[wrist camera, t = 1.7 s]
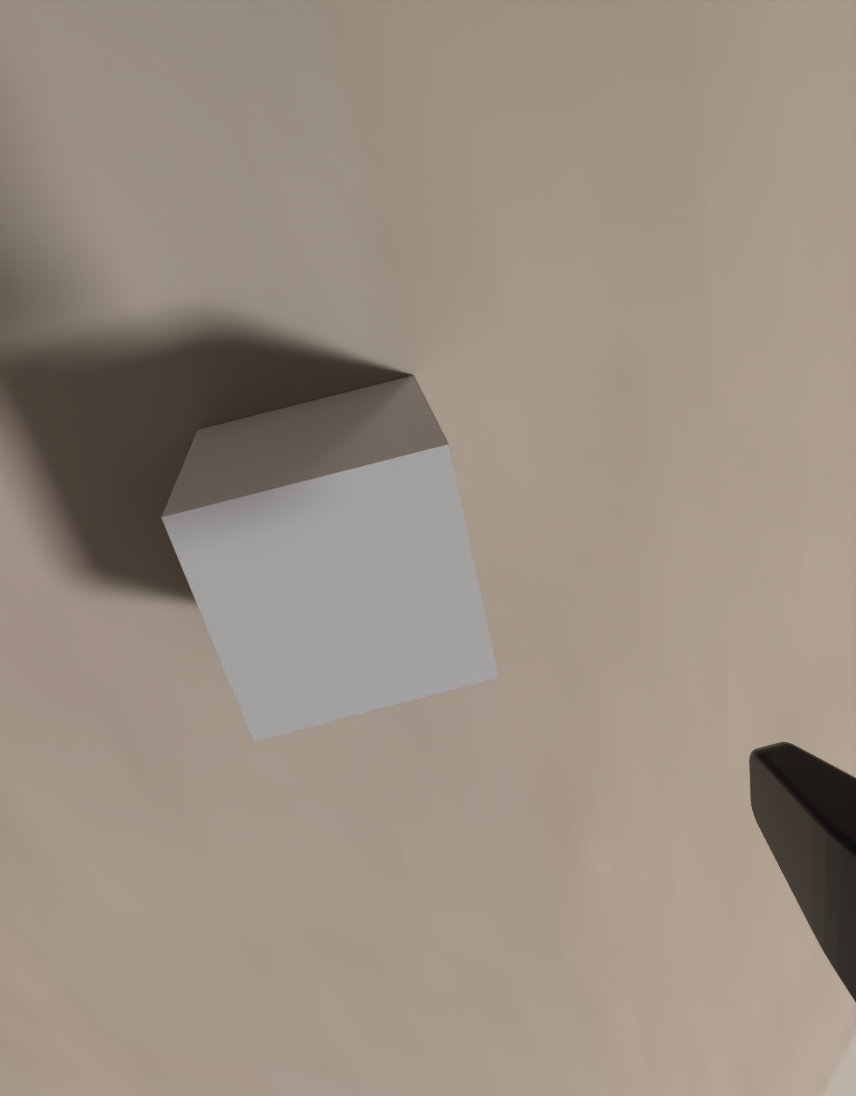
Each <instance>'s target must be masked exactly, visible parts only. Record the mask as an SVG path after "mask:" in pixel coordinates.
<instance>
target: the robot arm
mask: <svg viewBox="0 0 856 1096" xmlns="http://www.w3.org/2000/svg"><path fill="white" fill-rule="evenodd" d="M749 766H750V794H751V806H752V810H753V814H754V817H755V819H756V822H757V824H758V826H759V828H760V830H761V832H762V834H763V836H764V838H765V839H766V841H767V843H768V845H769V847H770V849H771V851H772V853H773V855H774V857H775V859H776V861H777V863H778V865H779V867H780V869H781V871H782V873H783V875H784V877H785V878H786V880H787V882H788V884H789V886H790V888H791V890H792V892H793V894H794V896H795V898H796V900H797V902H798V904H799V906H800V908H801V910H802V912H803V914H804V916H805V917H806V919H807V921H808V923H809V925H810V927H811V929H812V931H813V933H814V935H815V937H816V939H817V940H818V942H819V944H820V946H821V948H822V950H823V951H824V953H825V955H826V956H827V958H828V960H829V961H830V963H831V964H832V966H833V968H834V969H835V971H836V973H837V974H838V976H839V977H840V979H841V980H842V982H843V983H844V985H845V987H846V988H847V990H848V991H849V993H850V994H851V996H852V997H853V999H854V1000H855V1002H856V778H855V777H853V776H852V775H850V774H848V773H846V772H844V771H842V770H840V769H838V768H837V767H835V766H833V765H831V764H829V763H827V762H825V761H823V760H822V759H820V758H818V757H816V756H814V755H812V754H810V753H808V752H807V751H805V750H803V749H801V748H799V747H797V746H795V745H793V744H791V743H787V742H780V743H776V744H772V745H768V746H765V747H761V748H757V749H755V750H753V751H752V752H751V754H750V759H749Z"/></svg>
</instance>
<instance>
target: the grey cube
mask: <svg viewBox="0 0 856 1096" xmlns="http://www.w3.org/2000/svg"><path fill="white" fill-rule="evenodd" d="M161 518H162V520H163V523H164V525H165V528H166V530H167V533H168V535H169V537H170V540H171V542H172V545H173V547H174V550H175V552H176V554H177V557H178V559H179V562H180V564H181V567H182V569H183V571H184V574H185V576H186V579H187V581H188V584H189V586H190V588H191V591H192V593H193V596H194V598H195V601H196V603H197V605H198V608H199V610H200V613H201V615H202V618H203V620H204V622H205V625H206V627H207V630H208V632H209V635H210V637H211V639H212V642H213V644H214V647H215V649H216V652H217V654H218V656H219V659H220V661H221V664H222V666H223V669H224V671H225V673H226V676H227V678H228V681H229V683H230V685H231V688H232V690H233V693H234V695H235V698H236V700H237V702H238V705H239V707H240V710H241V712H242V715H243V717H244V719H245V722H246V724H247V727H248V729H249V732H250V734H251V736H252V739H253V741H254V742H255V741H259V740H263V739H267V738H270V737H274V736H278V735H282V734H286V733H289V732H293V731H297V730H301V729H305V728H308V727H312V726H316V725H320V724H324V723H327V722H331V721H335V720H339V719H343V718H346V717H350V716H354V715H358V714H362V713H365V712H369V711H373V710H377V709H381V708H384V707H388V706H392V705H396V704H400V703H403V702H407V701H411V700H415V699H419V698H422V697H426V696H430V695H434V694H438V693H441V692H445V691H449V690H453V689H457V688H460V687H464V686H468V685H472V684H476V683H479V682H483V681H487V680H491V679H495V678H498V677H499V675H498V670H497V666H496V661H495V656H494V652H493V647H492V643H491V638H490V633H489V629H488V624H487V619H486V615H485V610H484V605H483V601H482V596H481V592H480V587H479V582H478V578H477V573H476V568H475V564H474V559H473V554H472V550H471V545H470V541H469V536H468V531H467V527H466V522H465V517H464V513H463V508H462V503H461V499H460V494H459V490H458V485H457V480H456V476H455V471H454V466H453V462H452V457H451V452H450V448H449V444H448V442H447V440H446V438H445V436H444V434H443V432H442V430H441V428H440V426H439V424H438V422H437V420H436V418H435V416H434V414H433V412H432V410H431V408H430V406H429V404H428V402H427V400H426V398H425V396H424V394H423V392H422V390H421V388H420V386H419V384H418V382H417V380H416V378H415V376H414V375H413V376H409V377H405V378H401V379H397V380H393V381H389V382H385V383H381V384H377V385H373V386H369V387H365V388H361V389H357V390H353V391H349V392H345V393H341V394H337V395H333V396H330V397H326V398H322V399H318V400H314V401H310V402H306V403H302V404H298V405H294V406H290V407H286V408H282V409H278V410H274V411H270V412H266V413H262V414H258V415H254V416H250V417H246V418H242V419H238V420H234V421H230V422H226V423H222V424H218V425H215V426H211V427H207V428H203V429H199V430H197V432H196V435H195V437H194V439H193V442H192V444H191V447H190V449H189V452H188V454H187V456H186V459H185V461H184V464H183V466H182V468H181V471H180V473H179V476H178V478H177V481H176V483H175V485H174V488H173V490H172V493H171V495H170V498H169V500H168V502H167V505H166V507H165V510H164V512H163V515H162V517H161Z"/></svg>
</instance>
